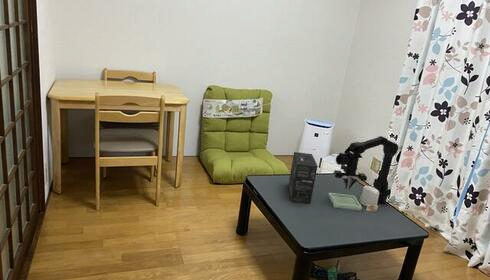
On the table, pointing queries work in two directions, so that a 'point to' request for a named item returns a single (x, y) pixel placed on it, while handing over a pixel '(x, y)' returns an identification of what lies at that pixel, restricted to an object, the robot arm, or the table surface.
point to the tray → (344, 201)
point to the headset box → (302, 177)
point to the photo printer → (369, 196)
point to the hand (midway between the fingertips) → (347, 188)
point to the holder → (370, 207)
